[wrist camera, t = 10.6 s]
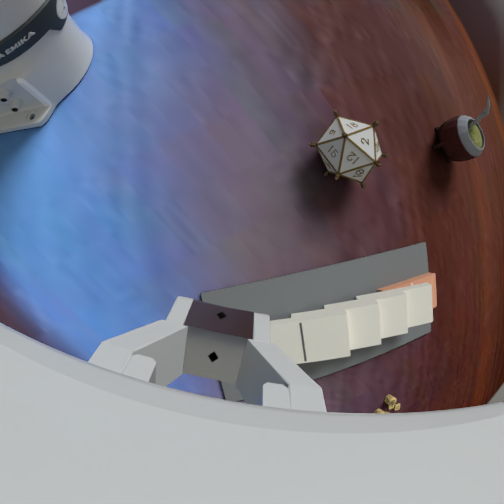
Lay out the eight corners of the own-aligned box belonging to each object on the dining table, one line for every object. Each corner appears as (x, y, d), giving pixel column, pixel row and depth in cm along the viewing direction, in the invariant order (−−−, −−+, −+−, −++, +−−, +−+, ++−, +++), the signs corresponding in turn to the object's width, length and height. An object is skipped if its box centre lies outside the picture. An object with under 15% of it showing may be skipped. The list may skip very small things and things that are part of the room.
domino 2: (296, 357, 33) (381, 344, 31) (290, 317, 33) (378, 303, 31) (297, 352, 34) (378, 339, 33) (291, 313, 34) (375, 299, 32)
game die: (323, 151, 39) (370, 101, 32) (359, 200, 37) (414, 152, 30) (281, 150, 33) (334, 86, 26) (323, 208, 31) (389, 147, 24)
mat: (226, 401, 33) (226, 403, 33) (200, 292, 32) (200, 293, 32) (428, 330, 40) (430, 331, 39) (423, 242, 39) (425, 242, 38)
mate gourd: (459, 161, 41) (525, 144, 26) (435, 170, 39) (508, 151, 25) (444, 121, 40) (507, 96, 26) (418, 126, 39) (487, 95, 24)
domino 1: (261, 367, 32) (350, 356, 30) (253, 327, 32) (346, 313, 30) (263, 361, 34) (348, 350, 32) (256, 322, 33) (344, 309, 31)
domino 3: (329, 347, 34) (407, 333, 32) (324, 308, 33) (406, 293, 32) (328, 342, 35) (404, 328, 33) (323, 304, 35) (402, 290, 33)
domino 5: (361, 337, 35) (432, 321, 33) (357, 299, 34) (431, 284, 32) (359, 332, 36) (428, 318, 34) (355, 296, 36) (426, 282, 34)
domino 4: (386, 327, 35) (436, 306, 37) (384, 291, 35) (435, 273, 37) (379, 324, 37) (429, 304, 39) (377, 289, 37) (427, 272, 39)
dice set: (378, 427, 39) (384, 432, 37) (365, 414, 39) (371, 419, 37) (399, 405, 40) (406, 410, 38) (388, 390, 39) (395, 395, 37)
